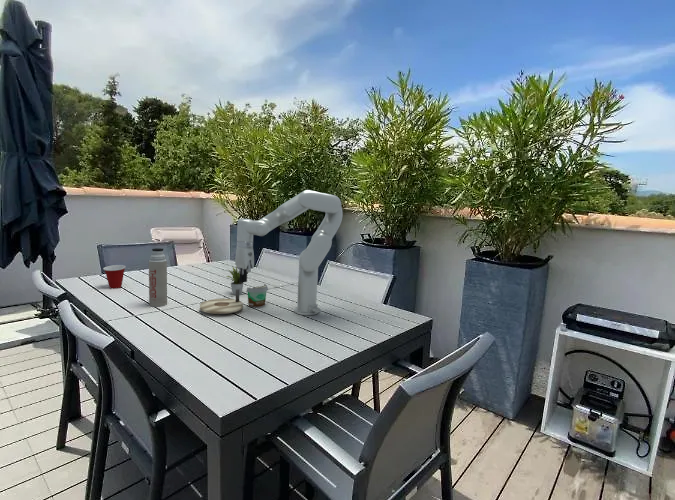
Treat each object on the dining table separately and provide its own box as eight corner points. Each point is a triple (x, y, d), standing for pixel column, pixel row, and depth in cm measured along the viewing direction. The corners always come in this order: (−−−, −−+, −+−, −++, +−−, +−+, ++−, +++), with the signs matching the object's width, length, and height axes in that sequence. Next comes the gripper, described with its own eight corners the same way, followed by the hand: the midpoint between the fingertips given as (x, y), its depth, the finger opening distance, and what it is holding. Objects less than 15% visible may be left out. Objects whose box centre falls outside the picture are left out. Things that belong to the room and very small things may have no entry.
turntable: (250, 311, 177) (251, 293, 175) (212, 319, 162) (212, 300, 161) (229, 301, 190) (230, 285, 189) (192, 308, 176) (192, 290, 175)
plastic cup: (99, 288, 202) (98, 267, 200) (115, 284, 212) (115, 264, 210) (114, 290, 198) (113, 269, 197) (130, 286, 209) (130, 266, 207)
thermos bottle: (156, 307, 174) (155, 250, 170) (145, 304, 178) (144, 248, 174) (170, 304, 181) (170, 248, 177) (160, 301, 185) (159, 247, 181)
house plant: (246, 298, 198) (246, 269, 196) (220, 296, 199) (221, 267, 196) (252, 291, 213) (253, 264, 210) (229, 290, 213) (229, 263, 211)
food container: (254, 309, 180) (254, 289, 179) (246, 306, 184) (246, 287, 183) (272, 304, 190) (273, 286, 189) (264, 302, 194) (265, 283, 192)
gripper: (260, 246, 171) (258, 284, 174) (243, 242, 181) (241, 278, 184) (246, 247, 166) (244, 286, 168) (229, 242, 176) (228, 279, 179)
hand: (243, 281), depth 176 cm, fingers closed
